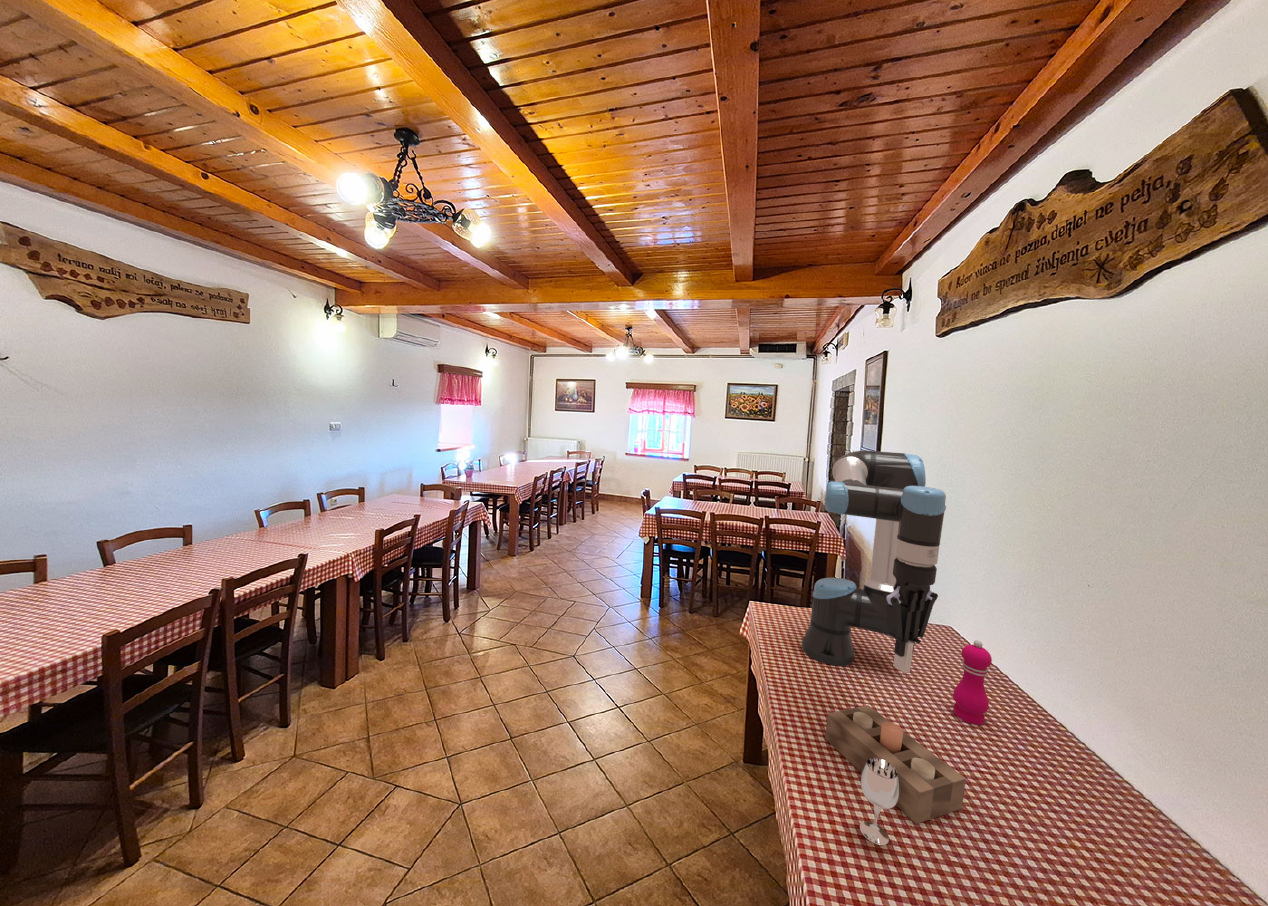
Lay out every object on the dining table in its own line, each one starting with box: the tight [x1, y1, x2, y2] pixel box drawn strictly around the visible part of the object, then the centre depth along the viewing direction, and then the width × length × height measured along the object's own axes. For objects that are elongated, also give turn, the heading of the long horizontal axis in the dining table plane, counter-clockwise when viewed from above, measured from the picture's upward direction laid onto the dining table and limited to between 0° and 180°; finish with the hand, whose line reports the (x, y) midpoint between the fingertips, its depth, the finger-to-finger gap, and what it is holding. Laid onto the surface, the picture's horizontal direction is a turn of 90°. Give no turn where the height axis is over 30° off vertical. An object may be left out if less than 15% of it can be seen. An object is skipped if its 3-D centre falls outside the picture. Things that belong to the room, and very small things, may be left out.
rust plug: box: [880, 721, 904, 754], centre depth 91 cm, size 4×4×6 cm
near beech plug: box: [911, 758, 935, 782], centre depth 85 cm, size 4×4×6 cm
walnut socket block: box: [824, 704, 967, 825], centre depth 92 cm, size 22×12×6 cm, turn 20°
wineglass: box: [859, 758, 899, 846], centre depth 77 cm, size 6×6×12 cm
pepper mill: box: [952, 639, 993, 726], centre depth 111 cm, size 7×7×20 cm
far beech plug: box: [853, 712, 873, 730], centre depth 98 cm, size 4×4×6 cm
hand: (901, 669), depth 94 cm, fingers closed
